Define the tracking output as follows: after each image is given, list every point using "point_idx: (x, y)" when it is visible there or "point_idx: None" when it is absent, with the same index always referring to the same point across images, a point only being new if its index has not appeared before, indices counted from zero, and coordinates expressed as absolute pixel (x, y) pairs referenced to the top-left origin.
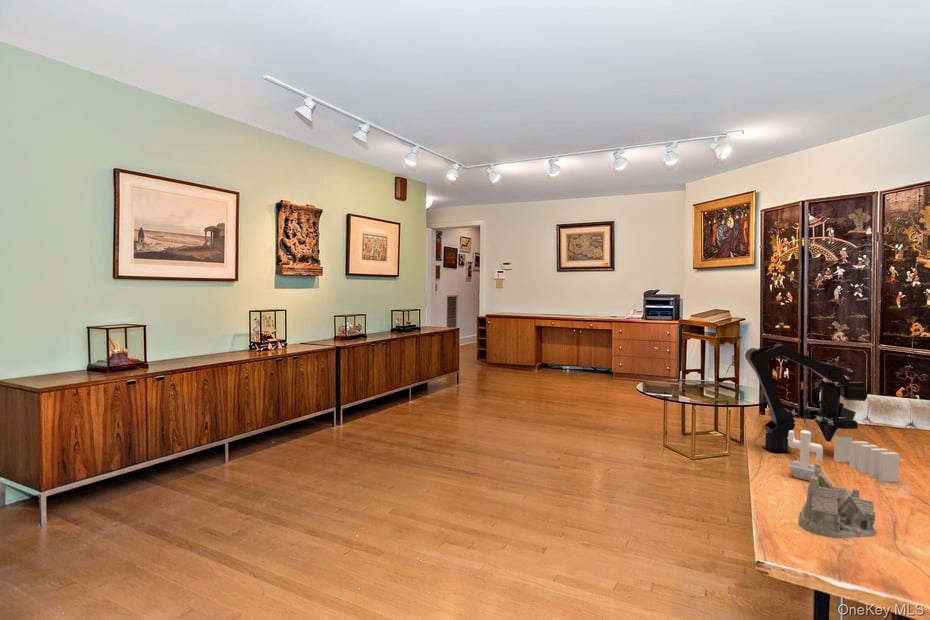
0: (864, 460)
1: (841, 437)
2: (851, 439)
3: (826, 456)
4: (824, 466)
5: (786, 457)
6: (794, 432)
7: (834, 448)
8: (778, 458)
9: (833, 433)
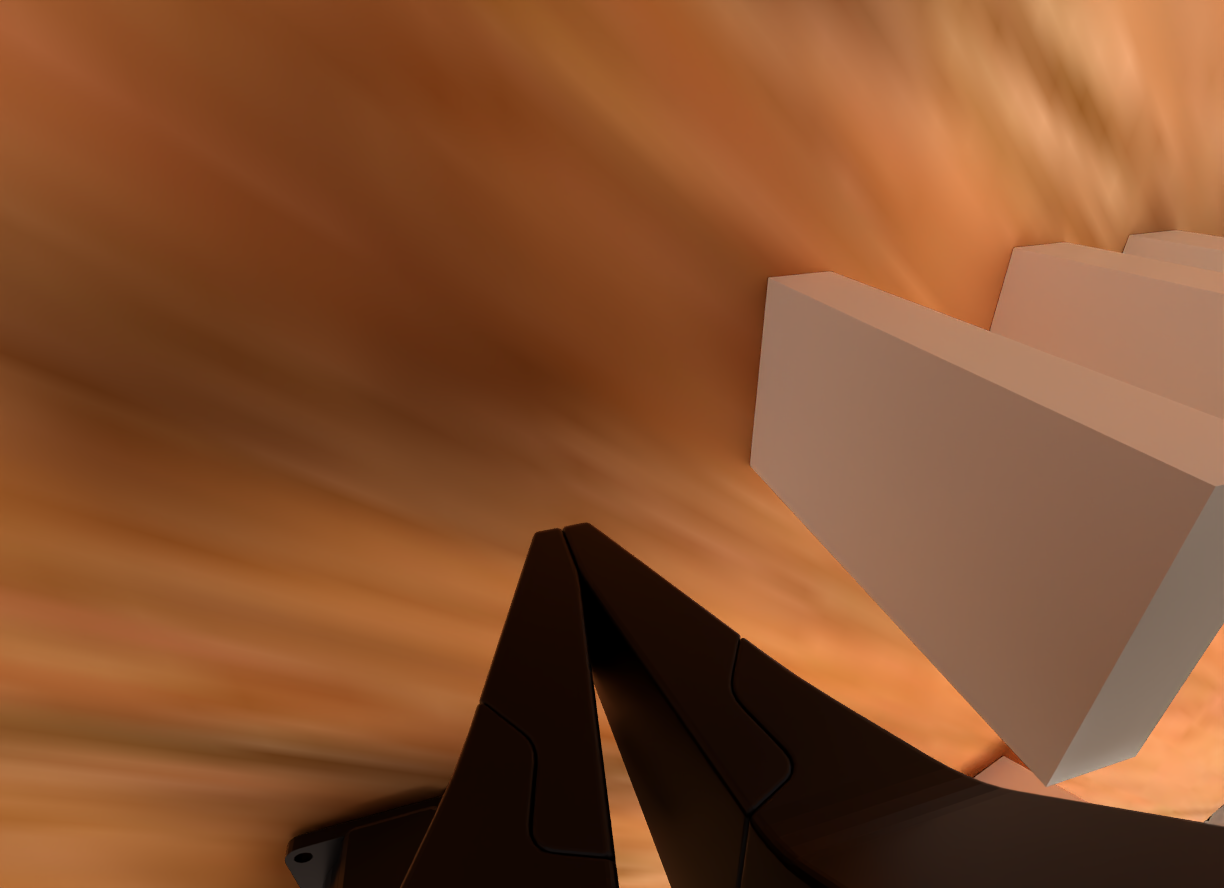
0: None
1: (1153, 696)
2: (1218, 435)
3: (588, 462)
4: (873, 629)
5: (628, 812)
6: None
7: (851, 570)
8: (653, 856)
9: (744, 667)
